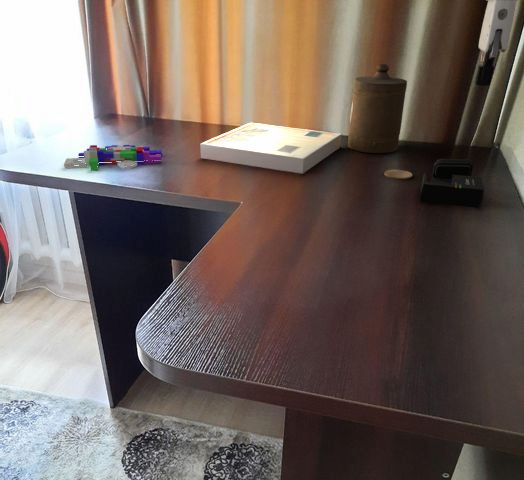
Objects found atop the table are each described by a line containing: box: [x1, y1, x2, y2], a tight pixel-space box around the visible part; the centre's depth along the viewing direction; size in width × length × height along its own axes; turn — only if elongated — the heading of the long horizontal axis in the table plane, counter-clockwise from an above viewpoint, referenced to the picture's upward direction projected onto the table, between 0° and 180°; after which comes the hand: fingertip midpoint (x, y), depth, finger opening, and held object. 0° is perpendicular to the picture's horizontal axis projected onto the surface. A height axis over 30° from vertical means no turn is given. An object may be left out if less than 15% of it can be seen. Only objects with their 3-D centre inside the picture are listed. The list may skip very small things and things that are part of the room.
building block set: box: [63, 144, 163, 172], centre depth 137 cm, size 25×20×4 cm
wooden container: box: [347, 63, 408, 154], centre depth 146 cm, size 15×15×22 cm
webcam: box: [429, 158, 474, 184], centre depth 124 cm, size 9×6×6 cm
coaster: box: [383, 169, 413, 180], centre depth 130 cm, size 7×7×1 cm
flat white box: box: [199, 122, 343, 175], centre depth 145 cm, size 30×4×30 cm
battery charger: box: [419, 171, 485, 209], centre depth 115 cm, size 13×10×4 cm
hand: (482, 85), depth 123 cm, fingers closed
